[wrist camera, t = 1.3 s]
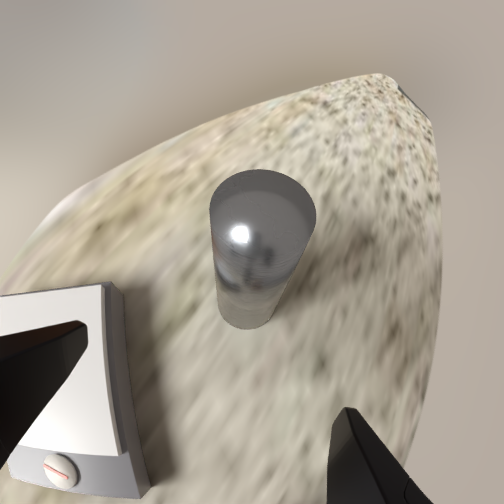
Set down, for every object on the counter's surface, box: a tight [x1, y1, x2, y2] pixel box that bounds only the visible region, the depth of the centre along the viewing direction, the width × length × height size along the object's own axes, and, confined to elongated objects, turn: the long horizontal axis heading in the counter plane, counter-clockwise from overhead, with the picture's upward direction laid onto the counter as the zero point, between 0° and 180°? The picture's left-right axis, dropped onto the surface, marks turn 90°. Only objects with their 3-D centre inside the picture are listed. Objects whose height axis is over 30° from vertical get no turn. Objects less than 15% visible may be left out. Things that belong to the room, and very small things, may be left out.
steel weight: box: [209, 169, 316, 329], centre depth 18 cm, size 4×4×12 cm
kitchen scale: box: [0, 282, 151, 499], centre depth 17 cm, size 16×12×4 cm
